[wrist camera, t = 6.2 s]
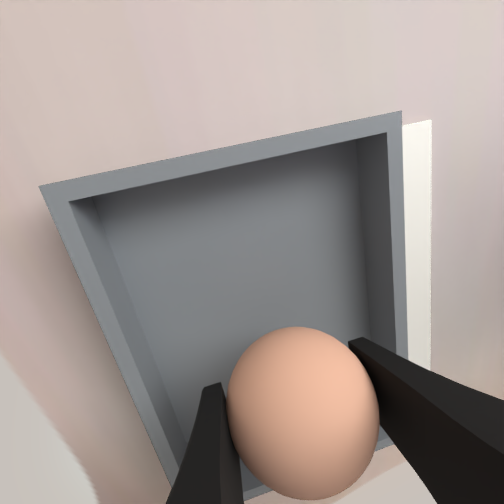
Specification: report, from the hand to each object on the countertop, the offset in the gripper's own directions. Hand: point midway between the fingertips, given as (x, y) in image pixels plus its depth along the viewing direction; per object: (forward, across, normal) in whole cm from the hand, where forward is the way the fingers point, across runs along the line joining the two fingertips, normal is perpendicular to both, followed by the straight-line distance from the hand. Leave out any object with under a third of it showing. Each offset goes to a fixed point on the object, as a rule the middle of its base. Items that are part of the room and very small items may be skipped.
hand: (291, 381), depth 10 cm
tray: (+4, 0, 0) cm, 4 cm away
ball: (-1, 0, 0) cm, 1 cm away
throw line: (+4, -8, 0) cm, 9 cm away
